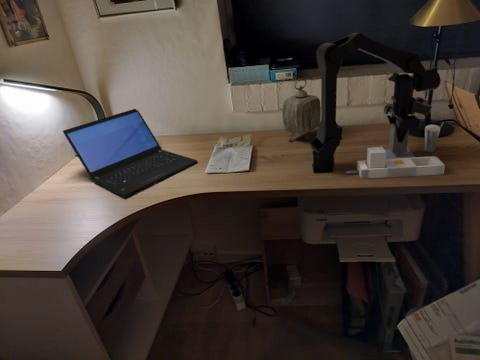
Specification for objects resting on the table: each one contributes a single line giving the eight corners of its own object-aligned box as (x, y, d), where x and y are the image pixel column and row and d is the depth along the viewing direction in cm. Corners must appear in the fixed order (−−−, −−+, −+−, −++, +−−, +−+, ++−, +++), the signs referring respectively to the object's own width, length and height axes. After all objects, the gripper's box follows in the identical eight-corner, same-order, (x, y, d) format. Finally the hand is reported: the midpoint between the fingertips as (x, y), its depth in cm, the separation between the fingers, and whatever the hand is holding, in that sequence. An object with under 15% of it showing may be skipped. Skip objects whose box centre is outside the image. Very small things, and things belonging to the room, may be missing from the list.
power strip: (347, 179, 105) (348, 169, 103) (344, 169, 111) (344, 159, 109) (443, 174, 100) (445, 163, 99) (434, 164, 106) (436, 154, 105)
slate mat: (385, 162, 112) (385, 161, 112) (378, 151, 121) (378, 149, 120) (417, 160, 110) (417, 159, 110) (407, 149, 119) (407, 148, 119)
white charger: (369, 176, 105) (370, 153, 101) (366, 170, 109) (367, 147, 105) (384, 175, 104) (386, 152, 101) (380, 169, 108) (382, 146, 104)
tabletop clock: (305, 131, 148) (303, 74, 136) (322, 135, 141) (321, 75, 130) (284, 142, 140) (280, 81, 128) (301, 146, 133) (298, 83, 122)
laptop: (125, 200, 111) (107, 147, 102) (78, 175, 135) (61, 130, 126) (199, 163, 131) (190, 116, 123) (147, 147, 156) (136, 107, 147)
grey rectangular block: (392, 153, 113) (395, 127, 109) (388, 148, 117) (391, 123, 113) (406, 152, 112) (409, 126, 108) (402, 147, 116) (405, 122, 112)
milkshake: (441, 152, 114) (445, 124, 109) (424, 153, 115) (427, 125, 110) (437, 147, 117) (441, 120, 113) (420, 148, 119) (424, 121, 114)
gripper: (442, 99, 96) (434, 148, 103) (419, 85, 112) (414, 128, 120) (402, 102, 98) (397, 151, 105) (385, 88, 114) (381, 131, 121)
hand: (398, 139), depth 113 cm, fingers closed on grey rectangular block, 4 cm apart
